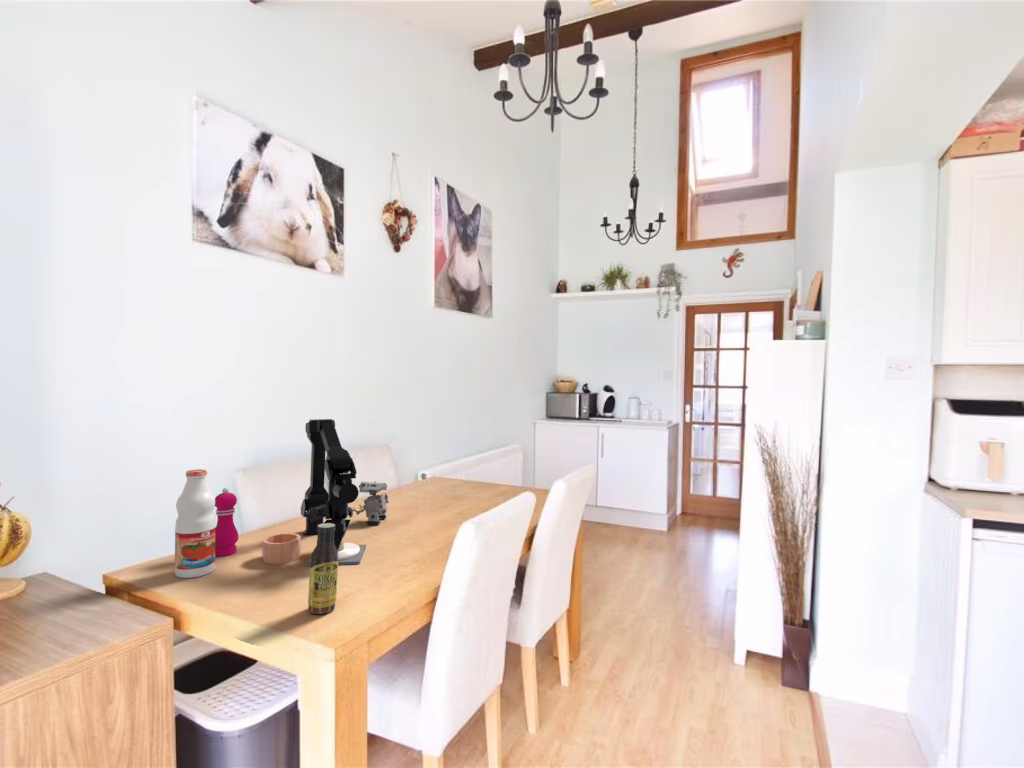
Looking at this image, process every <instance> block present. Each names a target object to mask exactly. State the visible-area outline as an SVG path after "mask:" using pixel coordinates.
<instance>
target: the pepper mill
mask: <svg viewBox="0 0 1024 768" xmlns="http://www.w3.org/2000/svg"><path fill="white" fill-rule="evenodd" d="M221 491H222V493H219V494H218V495H216V496H215V506H214V508H216V509H215V516H217V520H216V521H217V522H216V527H215V557H228V556H231V555H234V554H236V552H238V551H237V550H238V548H237V547H238V546H237V545H236V544H237V542H238V540H239V533H238V530H237V527H236V526H235V522H234V514H235V512H236V511H235V510H236V508H235V506H236V504H237V503H238V499H237V497H236V495H235V493H232V492H230V490H229V488H228V487H224V488H223V489H222V490H221Z"/></svg>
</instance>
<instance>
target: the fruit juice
mask: <svg viewBox="0 0 1024 768" xmlns="http://www.w3.org/2000/svg"><path fill="white" fill-rule="evenodd" d="M207 471H208V470H207V469H200V468H199V469H197V468H196V469H190V470H186V472H185V478H186V482H185V484H184V487H183V490H182V492H181V493H180V495H179V497H178V498H177V500H176V505H175V508H176V511H177V518H176V521H175V525H174V527H175V529H174V532H175V533H174V535H175V536H174V574H175V577H177V578H180V579H193V578H197V577H203V576H206V575H208V574H210V573H212V572H213V571H214V570H215V566H216V556H215V528H216V525H217V522H216V515H215V513H214V509H215V498H216V496H215V495H214V494H213V493H212V491H211V489H210V487H209V485H208V484H209V483H208V481H207V479H206V477H207V475H208V472H207Z"/></svg>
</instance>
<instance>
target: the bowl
mask: <svg viewBox="0 0 1024 768" xmlns="http://www.w3.org/2000/svg"><path fill="white" fill-rule="evenodd" d="M301 543H302V536H301V535H300V534H298V533H293V532H286V533H285V532H284V533H283V532H282V533H276V534H271V535H268V536H265V537H264V538H263V539H262V545H261V546H262V548H261V549H262V551H261V558H262V561H263V563H265V564H267V565H281V564H288V563H292V562H294V561H297V560H298V559H300V556H301V553H302V552H301V550H302V548H301V547H302V545H301Z"/></svg>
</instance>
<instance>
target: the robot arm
mask: <svg viewBox="0 0 1024 768" xmlns="http://www.w3.org/2000/svg"><path fill="white" fill-rule="evenodd" d="M304 427H305V428H304V429H305V433H306V438H307V439H308V440H309V443H310V444H311V455H310V479H309V480H310V481H309V483H310V484H309V486H308V488H307V490H306V491H305V492H304V498H303V499H302V502H301V504H300V515H301V516H302V517H303V518H305V530H303V532H302V535H318V533H317V526H318V525H319V524H323V523H332V524H335V532H334V545H335V547H336V548H337V550H338V549H339V546H340V544H341V541H342V538H343V537H344V538H345V535H346V533H347V531H348V527H349V525H350V523H351V519H347V518H348V517H349V518H352V517H353V516H354V511H353V510H354V508H352V507H351V506H349V504H351V503H353V502H355V501H356V500H357V499H358V497H359V493H360V492H359V491H360V490H359V487H358V486H357V485H355V484H354V483H353V479H356V478H357V468H356V465H355V462H354V459H353V458H352V457H351V455H350V453H349V450H347V449H345V448H344V447H343V446H342V444H341V441H340V438H339V435H338V432H337V429H336V422H335V419H332V418H325V419H324V418H323V419H309V421H308V422H306V423H305V426H304ZM325 473H326V475H325ZM325 476H327V480H328V491H327V488H326V487H325ZM324 519H325V520H324Z"/></svg>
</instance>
